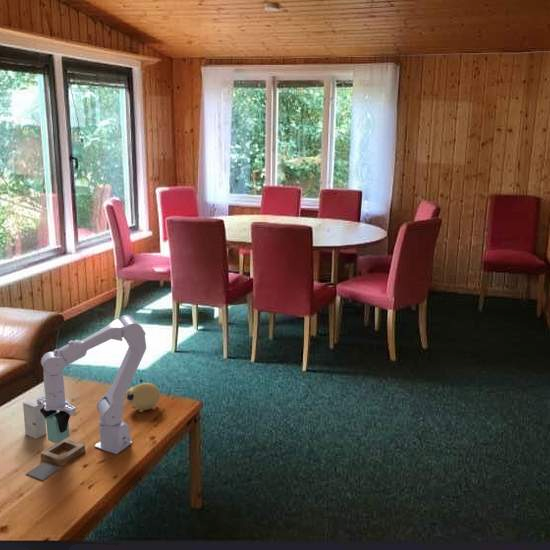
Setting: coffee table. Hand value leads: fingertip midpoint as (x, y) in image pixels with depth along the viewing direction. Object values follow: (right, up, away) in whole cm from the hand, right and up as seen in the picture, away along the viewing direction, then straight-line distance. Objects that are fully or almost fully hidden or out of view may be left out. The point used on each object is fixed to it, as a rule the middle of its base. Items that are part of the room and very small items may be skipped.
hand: (58, 429), depth 186 cm
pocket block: (0, -9, +4) cm, 10 cm away
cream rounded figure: (+20, -1, +33) cm, 39 cm away
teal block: (0, -3, +1) cm, 3 cm away
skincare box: (-13, -6, +16) cm, 21 cm away
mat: (-3, -12, -5) cm, 13 cm away
